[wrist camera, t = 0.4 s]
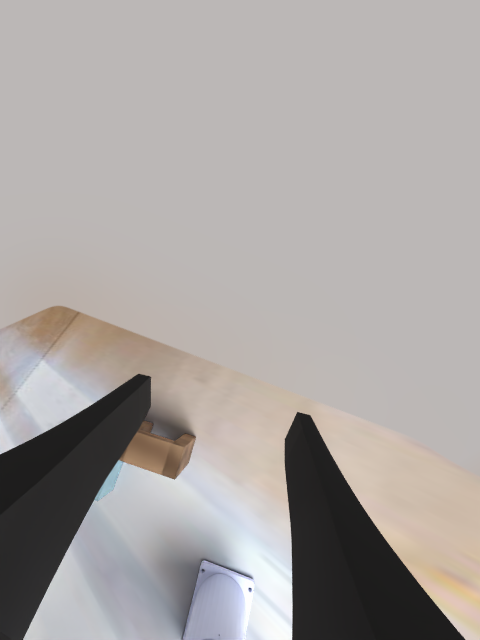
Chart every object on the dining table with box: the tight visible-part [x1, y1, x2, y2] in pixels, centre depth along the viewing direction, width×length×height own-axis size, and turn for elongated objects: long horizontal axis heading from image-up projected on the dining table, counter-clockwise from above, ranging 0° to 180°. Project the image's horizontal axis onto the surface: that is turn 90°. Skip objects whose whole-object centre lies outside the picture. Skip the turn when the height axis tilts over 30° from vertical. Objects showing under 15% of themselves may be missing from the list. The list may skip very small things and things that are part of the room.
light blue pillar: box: [94, 460, 123, 501], centre depth 35 cm, size 14×3×4 cm, turn 165°
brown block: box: [119, 421, 196, 479], centre depth 33 cm, size 4×10×7 cm, turn 75°
